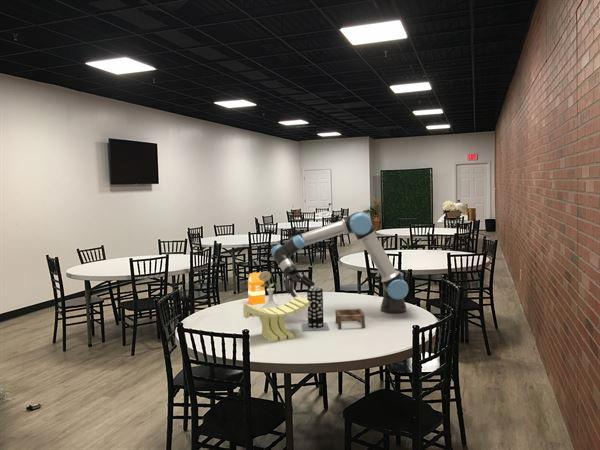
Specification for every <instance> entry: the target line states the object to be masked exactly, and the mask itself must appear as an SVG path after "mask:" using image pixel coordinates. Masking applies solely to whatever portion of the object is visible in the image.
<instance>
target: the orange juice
mask: <svg viewBox="0 0 600 450" xmlns="http://www.w3.org/2000/svg"><path fill="white" fill-rule="evenodd" d="M260 273H261V272H254V273H253V272H252V273H251V272H250V273H249V275H248V280H247V289H248V290H247V291H248V295H247V296H248V303H249V305H251V306H255V305H263V304H264V305H265V304H266V291H265V287H266V286H265V287H260V286H261V285H262V284H265V281H263V280H262V281H261V280H259V278H258V276H259V274H260Z"/></svg>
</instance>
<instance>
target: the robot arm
mask: <svg viewBox="0 0 600 450" xmlns="http://www.w3.org/2000/svg"><path fill="white" fill-rule="evenodd" d="M345 233H346V234H350V233H353V235H354V236H355V238H356V239H357V241H360V242H361V243H362V245H363V247H364V248H365V249H366V252H367V253H368V255H369V257H370V258H371V261H372V262H373V264H374V266H375V267H376V269H377V271H378V273H379V275H380V276H381V283H382V285H383V287H382V291H383V293H382V294H383V295H382V296H383V298H382V301H381V304H380V311H381V313H382V312H383V313H385V314H401V313H405V312H407V304H406V302H405V300H404V298H405V297H407V295H408V293H409V285H408V283H407V282H406V281H405V279H404V275H403V272H401V271H400V270H397V269H395V267H394V265H393V263H392V262H391V259H390V258H389V256H388V254H387V253H386V251H385V248H384V247H383V246H382V244H381V242H380V240H379V239H378V237H377V235H376V228H375V226H374V225H373V222H372V219H371V218H370V216H369V215H367V214H366V213H364V212H361V211H357V212H354V213H352V214H349V215H347V216H345V217H343V218H341V220H338V221H336V222H333V223H330V224H327V225H324V226H321V227H318V228H315V229H312V230H310V231H309V230H308V231H307V232H303V233H301V234H297V235H293V236H291V237H290V238H289V239H288V241H287V242H286V243H285V244H283V245H281V244H280V243H279V244H276V245H274V246H273V247H271V249H270V253H271V254H272V255H271V256H272V257H273V259H274V260H275V263H277V264H278V267H279V268H280V269H281V271H282V272H283V274H284V277H283V278H282V279H283V281H284V287H285V289H284V290H285V293H287V294H290V295H291V297H293V299H294V298H296V297H298V296H299V295H298V293H297V292H296V290H295V289H294V284H296V283H299V284H302V285H304V286H306V287H307V288H308V289H310V288H315V287H314V286H315V285H316V284H315V282H314V281H313V280H312V279H310V278H309V277H307V276H306V274H305V273H304V272H301V273H299V272H298V270H299V269H297V267H296V265H295V264H294V262H293V260H292V259H291V258H290V257H291V256H293V255H294V254H296V253H297V252H299V251H300V250H302V249H303V248H304V247H306V246H309V245H312V244H316V243H318V242H322V241H324V240H327V239H330V238H333V237H336V236H340V235H342V234H345Z"/></svg>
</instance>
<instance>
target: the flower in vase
mask: <svg viewBox="0 0 600 450" xmlns="http://www.w3.org/2000/svg"><path fill="white" fill-rule="evenodd" d="M270 272H271V271H266V270H264V271H262V272H261V273H260V272H259V273H260V274H259V276H258V278H259V280H261V281H262V280H263V281H264V282H268V281H270V279H271V278H272V273H270ZM274 285H275V282H273V283H270V284H269V286H268V284H267V283H264V284H262V285H261V286H260V287H267V288H266V291H267V293H268V301H267V302H265V303H264V305H263V306H262V307H261V308H267V309H268V308H272V307H275V308H276V307H277V306H280V305H279V304H278V303H276V302H275V301H274V299H273V297H274V296H273V295H274V290H275V288H272V287H273V286H274Z"/></svg>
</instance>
